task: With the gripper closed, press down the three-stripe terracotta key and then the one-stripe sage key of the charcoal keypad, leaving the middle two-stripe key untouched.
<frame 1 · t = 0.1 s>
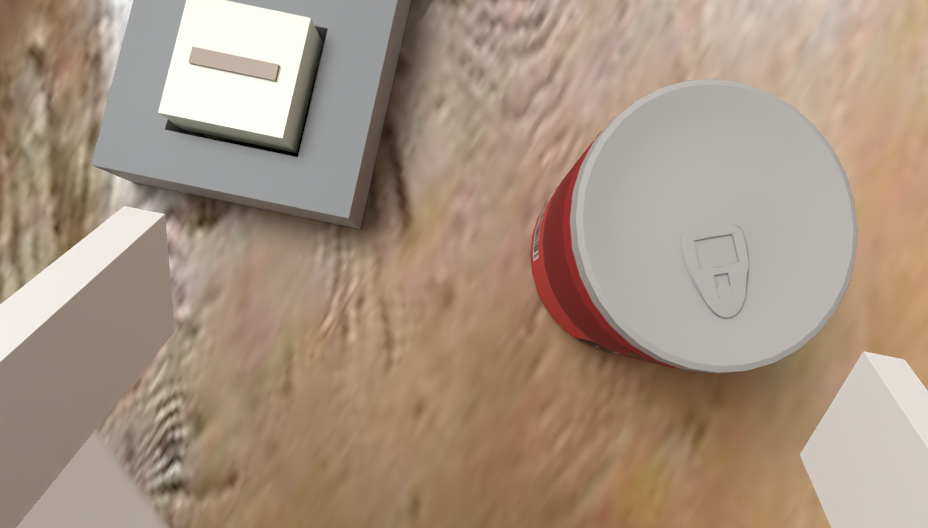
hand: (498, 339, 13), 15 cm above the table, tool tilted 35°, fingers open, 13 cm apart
canned food: (615, 259, 29), on the table
tile 1: (243, 75, 25), point 4 cm above the table, slide at 0.0 cm
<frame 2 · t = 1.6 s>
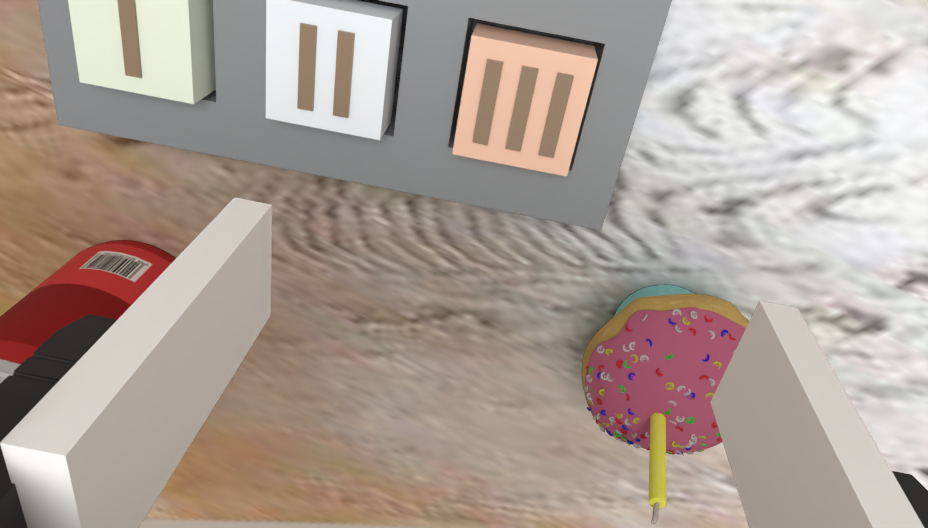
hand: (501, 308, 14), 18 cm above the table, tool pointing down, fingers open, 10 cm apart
canned food: (144, 293, 37), on the table
tile 2: (333, 64, 26), point 4 cm above the table, slide at 0.0 cm
tile 1: (144, 28, 26), point 4 cm above the table, slide at 0.0 cm
keypad: (355, 44, 29), on the table
cupcake: (659, 317, 35), on the table
tile 3: (522, 101, 26), point 4 cm above the table, slide at 0.0 cm
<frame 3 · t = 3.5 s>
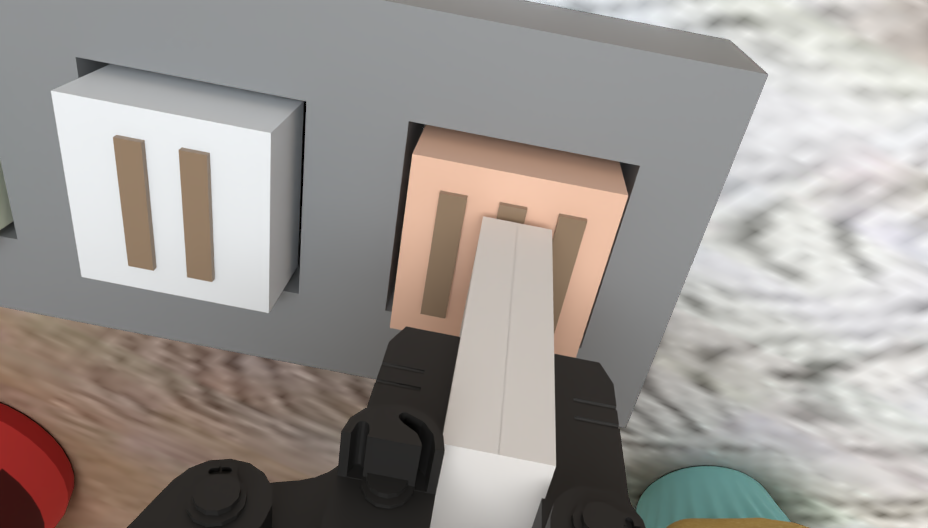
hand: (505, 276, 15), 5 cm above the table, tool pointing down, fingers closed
tile 2: (189, 191, 16), point 4 cm above the table, slide at 0.0 cm
keypad: (247, 139, 19), on the table
cupcake: (701, 502, 25), on the table
tile 3: (501, 245, 16), point 3 cm above the table, slide at 0.3 cm, touching gripper
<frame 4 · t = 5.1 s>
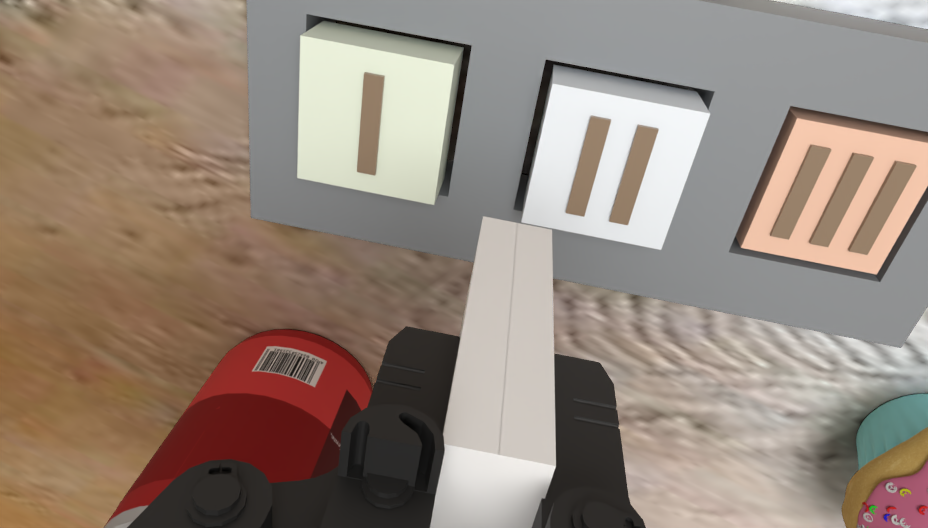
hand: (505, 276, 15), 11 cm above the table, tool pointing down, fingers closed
canned food: (301, 383, 33), on the table
tile 2: (607, 158, 21), point 4 cm above the table, slide at 0.0 cm
tile 1: (378, 114, 21), point 4 cm above the table, slide at 0.0 cm
keypad: (602, 122, 24), on the table
cupcake: (912, 426, 30), on the table
tile 3: (828, 187, 22), point 2 cm above the table, slide at 1.3 cm
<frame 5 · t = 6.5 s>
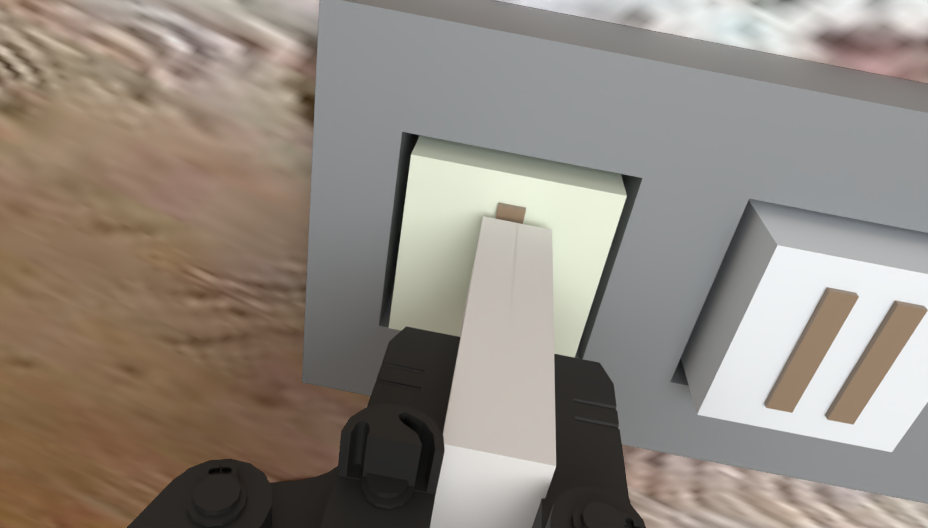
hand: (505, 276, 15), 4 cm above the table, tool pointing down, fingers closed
tile 2: (822, 329, 15), point 4 cm above the table, slide at 0.0 cm
tile 1: (500, 245, 16), point 3 cm above the table, slide at 1.0 cm, touching gripper
keypad: (774, 251, 18), on the table
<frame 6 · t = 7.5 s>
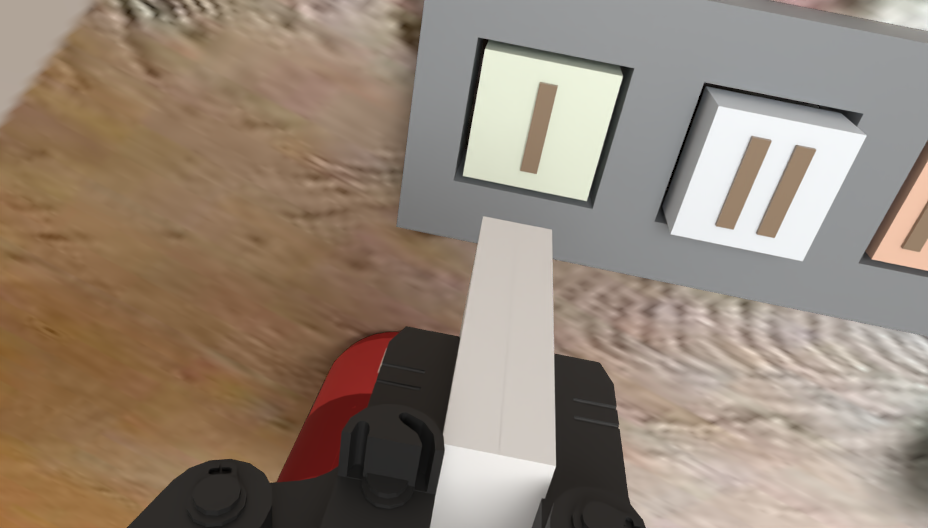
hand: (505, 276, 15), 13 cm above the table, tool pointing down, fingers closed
canned food: (406, 383, 34), on the table
tile 2: (755, 175, 22), point 4 cm above the table, slide at 0.0 cm
tile 1: (539, 119, 24), point 2 cm above the table, slide at 1.3 cm
keypad: (732, 138, 25), on the table
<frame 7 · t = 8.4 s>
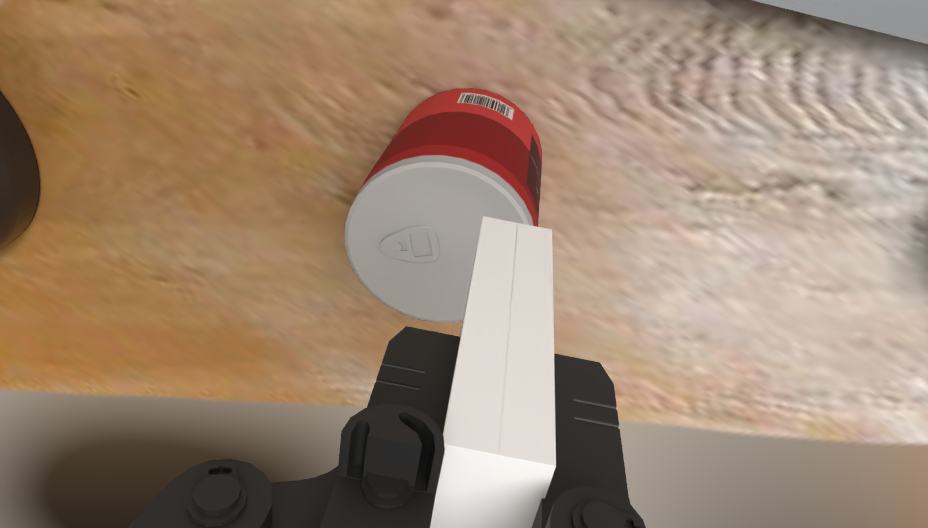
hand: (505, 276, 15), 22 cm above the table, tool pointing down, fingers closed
canned food: (470, 151, 37), on the table
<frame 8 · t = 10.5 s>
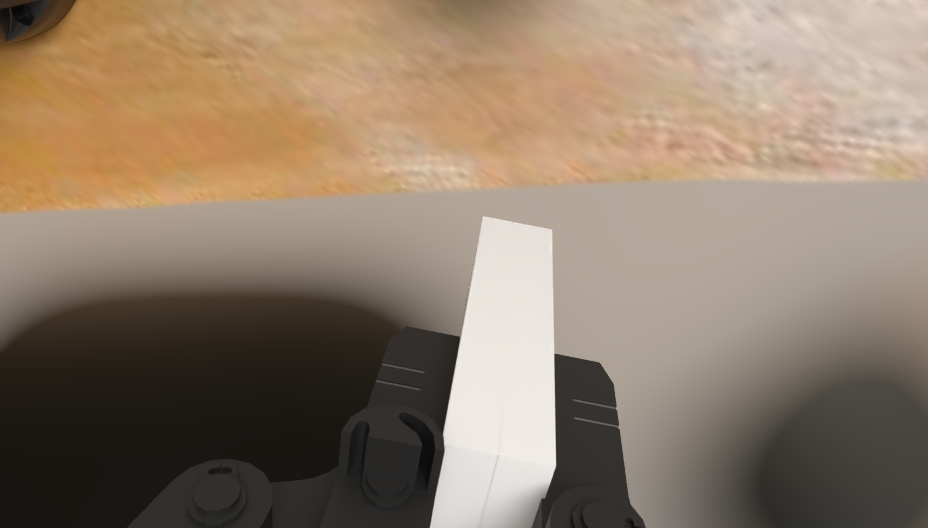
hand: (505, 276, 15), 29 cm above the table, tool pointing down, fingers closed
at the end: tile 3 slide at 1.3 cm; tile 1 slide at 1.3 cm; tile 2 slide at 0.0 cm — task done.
